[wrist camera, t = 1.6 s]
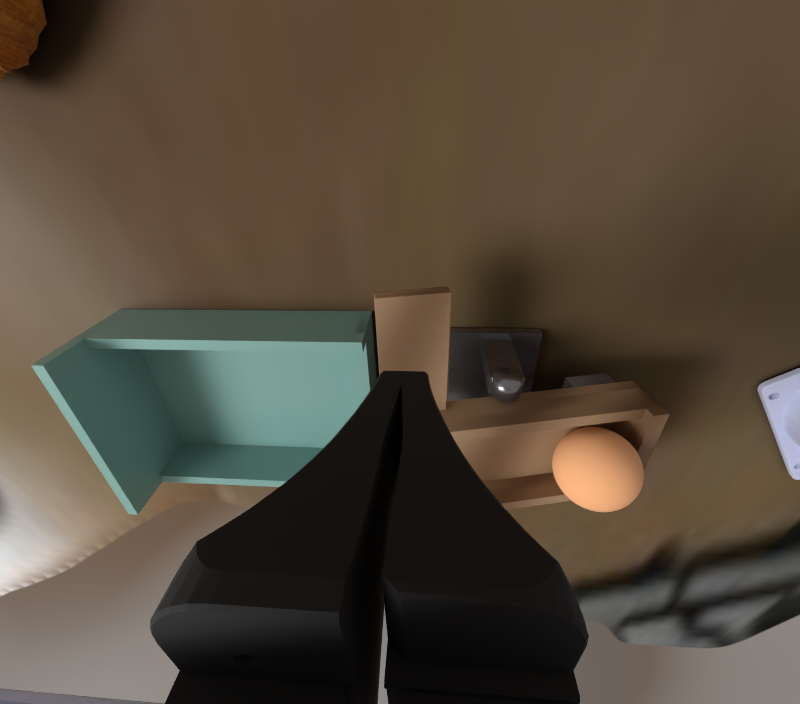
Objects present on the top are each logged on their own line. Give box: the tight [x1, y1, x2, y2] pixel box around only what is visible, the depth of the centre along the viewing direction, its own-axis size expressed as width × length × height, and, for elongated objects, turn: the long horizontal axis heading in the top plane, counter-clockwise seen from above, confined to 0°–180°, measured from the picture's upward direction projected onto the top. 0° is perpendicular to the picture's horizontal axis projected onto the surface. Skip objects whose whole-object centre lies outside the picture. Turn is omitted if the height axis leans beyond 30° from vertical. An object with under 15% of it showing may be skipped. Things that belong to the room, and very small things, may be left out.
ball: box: [552, 427, 644, 512], centre depth 19 cm, size 4×4×4 cm
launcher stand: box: [447, 328, 542, 402], centre depth 22 cm, size 5×9×5 cm, turn 1°
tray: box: [31, 309, 377, 515], centre depth 23 cm, size 15×11×6 cm
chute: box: [374, 287, 670, 510], centre depth 19 cm, size 13×12×4 cm
